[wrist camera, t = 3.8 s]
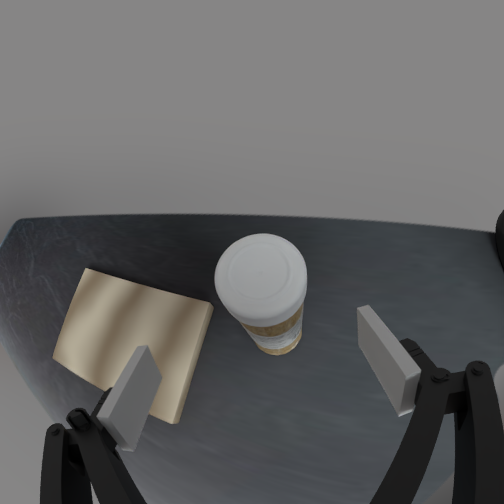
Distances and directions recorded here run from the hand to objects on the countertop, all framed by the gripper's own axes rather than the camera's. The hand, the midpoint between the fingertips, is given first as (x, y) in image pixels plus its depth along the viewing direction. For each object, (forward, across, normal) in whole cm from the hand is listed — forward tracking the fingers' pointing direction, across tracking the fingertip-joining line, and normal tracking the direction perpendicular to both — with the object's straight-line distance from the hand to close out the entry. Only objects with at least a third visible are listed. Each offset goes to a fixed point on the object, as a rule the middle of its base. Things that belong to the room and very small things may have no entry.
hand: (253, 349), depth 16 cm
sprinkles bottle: (+8, +1, -4) cm, 9 cm away
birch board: (+9, -14, -3) cm, 17 cm away
